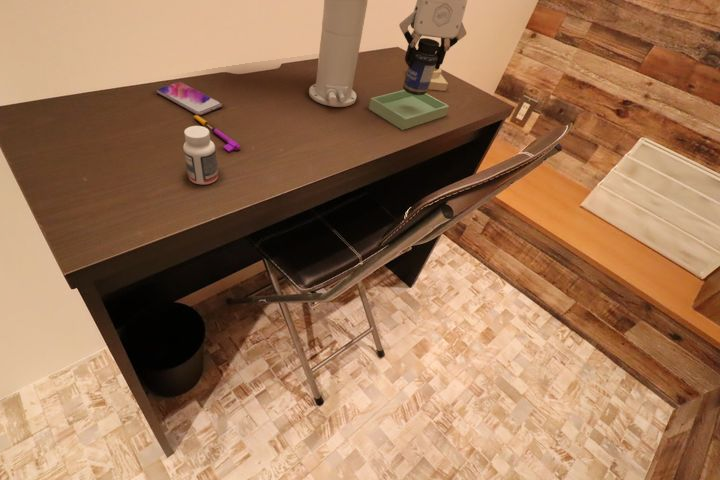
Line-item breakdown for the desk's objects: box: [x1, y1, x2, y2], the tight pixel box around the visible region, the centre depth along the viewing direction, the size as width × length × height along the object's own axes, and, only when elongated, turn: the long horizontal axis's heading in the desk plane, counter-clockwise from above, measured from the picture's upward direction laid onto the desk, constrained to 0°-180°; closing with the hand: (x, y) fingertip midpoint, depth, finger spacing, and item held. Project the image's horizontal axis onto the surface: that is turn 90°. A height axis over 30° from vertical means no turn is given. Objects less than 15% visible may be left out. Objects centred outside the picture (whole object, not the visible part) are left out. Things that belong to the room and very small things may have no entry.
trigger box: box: [428, 66, 449, 92], centre depth 110 cm, size 12×9×4 cm
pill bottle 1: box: [182, 125, 219, 186], centre depth 63 cm, size 5×5×9 cm
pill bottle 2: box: [402, 37, 440, 95], centre depth 87 cm, size 6×6×11 cm
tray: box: [368, 89, 450, 131], centre depth 94 cm, size 17×12×3 cm
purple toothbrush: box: [193, 114, 241, 153], centre depth 76 cm, size 3×1×16 cm
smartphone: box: [156, 81, 223, 116], centre depth 85 cm, size 7×1×15 cm
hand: (422, 65), depth 87 cm, fingers closed on pill bottle 2, 6 cm apart
